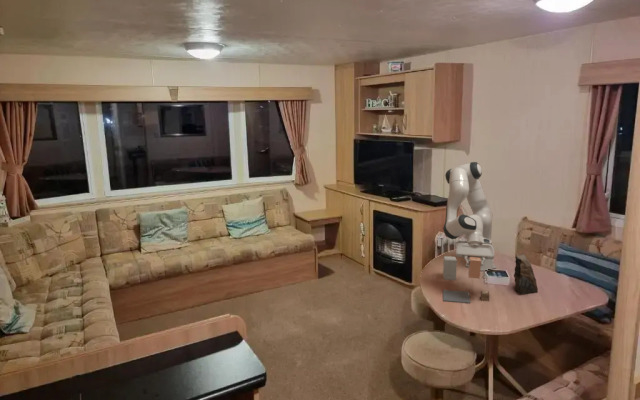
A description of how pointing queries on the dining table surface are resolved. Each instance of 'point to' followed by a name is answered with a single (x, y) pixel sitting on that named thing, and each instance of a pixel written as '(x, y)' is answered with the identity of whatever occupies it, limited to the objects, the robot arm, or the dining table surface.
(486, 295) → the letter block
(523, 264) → the dark brown rock
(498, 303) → the dining table surface
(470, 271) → the tan rectangular pillar
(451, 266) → the supplement box
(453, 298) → the grey mat
